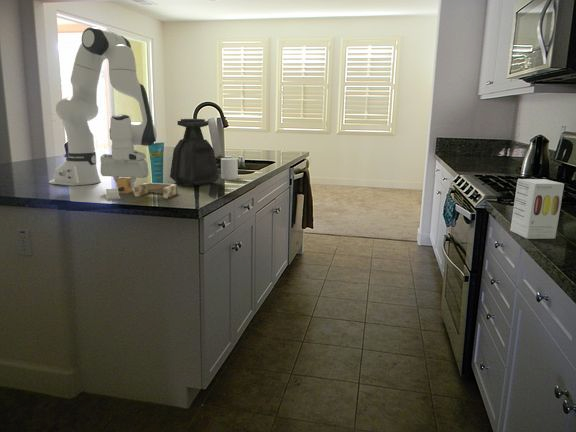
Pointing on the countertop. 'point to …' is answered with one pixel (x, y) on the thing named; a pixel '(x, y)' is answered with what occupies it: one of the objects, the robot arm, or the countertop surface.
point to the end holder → (156, 189)
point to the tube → (156, 161)
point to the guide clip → (112, 194)
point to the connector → (124, 185)
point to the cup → (229, 168)
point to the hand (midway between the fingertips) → (125, 187)
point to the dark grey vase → (193, 156)
